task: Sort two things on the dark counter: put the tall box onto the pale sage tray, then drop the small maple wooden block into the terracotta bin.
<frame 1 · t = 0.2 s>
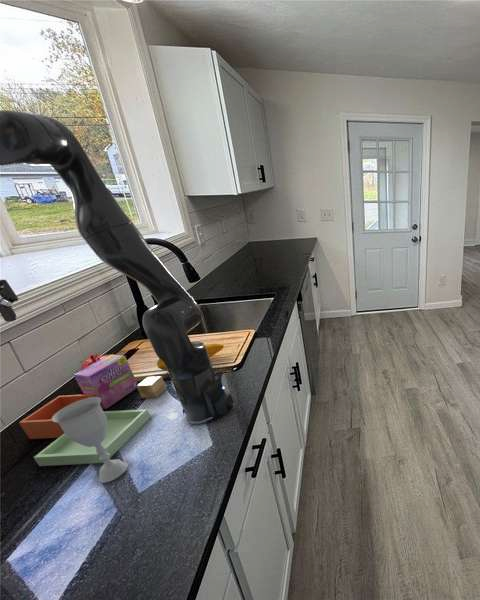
tray: (99, 439, 79), on the counter
bin: (68, 423, 86), on the counter
box: (116, 397, 95), on the counter
pomegranate: (102, 378, 106), on the counter
corn: (195, 363, 111), on the counter
chalice: (113, 472, 70), on the counter
block: (154, 392, 96), on the counter
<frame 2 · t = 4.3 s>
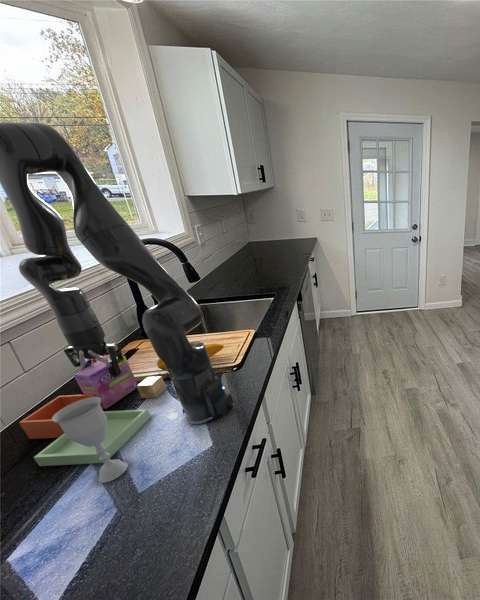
hand: (105, 376, 92), 8 cm above the counter, tool pointing down, fingers closed on box, 6 cm apart
box: (116, 397, 95), on the counter, touching bin, gripper
everything else where it was.
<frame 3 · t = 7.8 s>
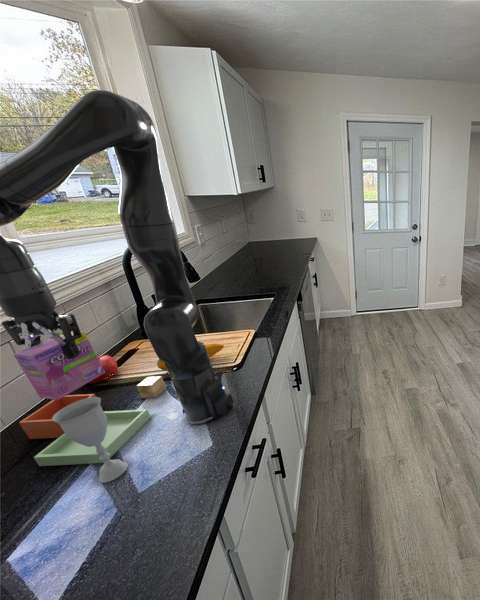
hand: (59, 357, 72), 23 cm above the counter, tool pointing down, fingers closed on box, 6 cm apart
box: (75, 385, 75), point 15 cm above the counter, touching gripper
everything else where it was.
when the fingers open (8 cm above the counter, at t = 11.8 s): box stays where it is, resting on tray.
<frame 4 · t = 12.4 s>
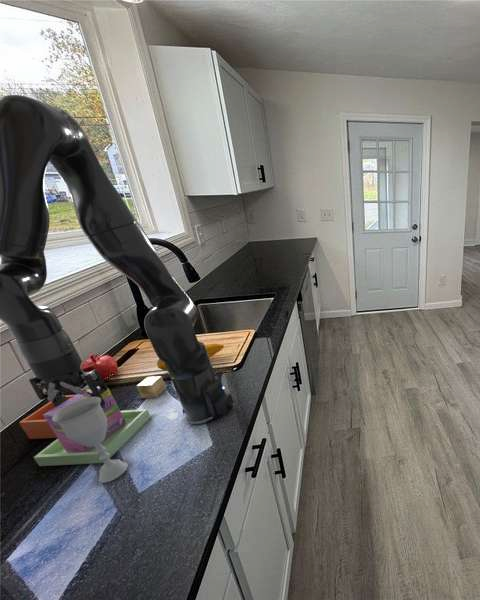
hand: (83, 409, 76), 10 cm above the counter, tool pointing down, fingers open, 8 cm apart
box: (98, 437, 79), point 1 cm above the counter, touching tray
everything else where it was.
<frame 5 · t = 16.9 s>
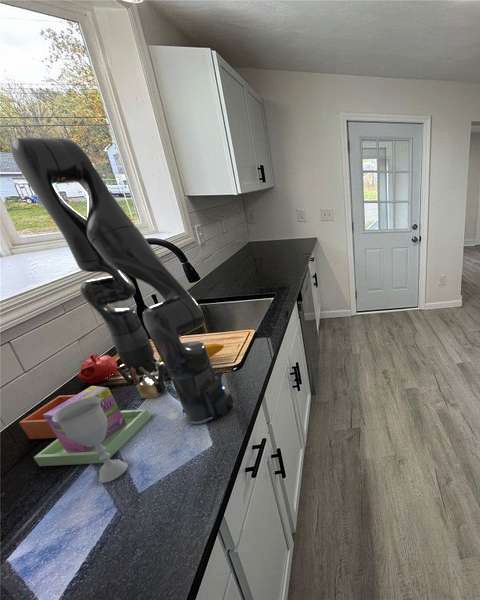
hand: (154, 392, 96), 0 cm above the counter, tool pointing down, fingers closed on block, 4 cm apart
block: (154, 392, 96), on the counter, touching gripper
everything else where it was.
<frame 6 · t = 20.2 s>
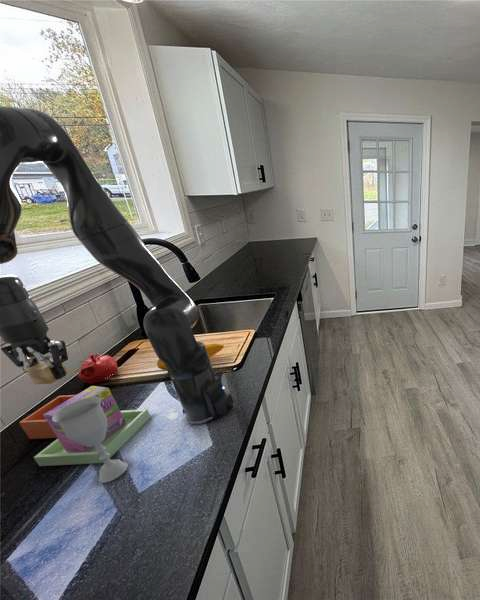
hand: (51, 377, 81), 14 cm above the counter, tool pointing down, fingers closed on block, 4 cm apart
block: (52, 378, 81), point 14 cm above the counter, touching gripper
everything else where it was.
when the fingers open (3 cm above the counter, at t = 23.9 s): block stays where it is, resting on bin.
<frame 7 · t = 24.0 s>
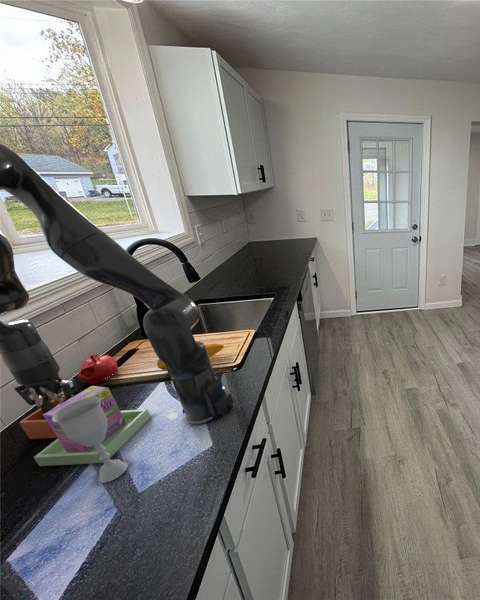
hand: (63, 414, 84), 3 cm above the counter, tool pointing down, fingers open, 5 cm apart
block: (67, 421, 85), point 1 cm above the counter, touching bin
everything else where it was.
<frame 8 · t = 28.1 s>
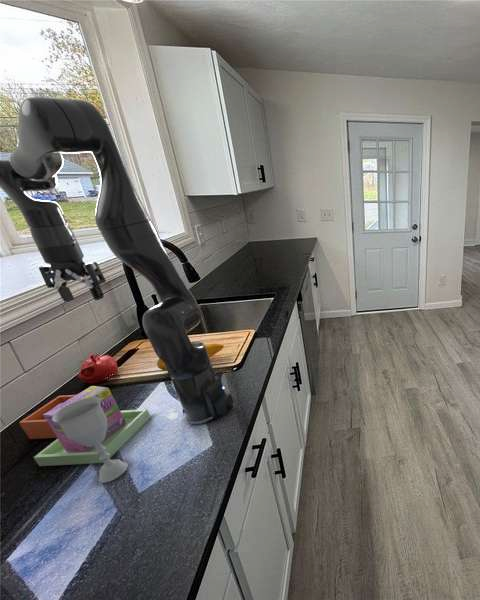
hand: (84, 299, 88), 30 cm above the counter, tool pointing down, fingers open, 8 cm apart
nothing on the counter moved.
at the end: box inside the target area in the tray (0.0 cm from its centre), point 0.6 cm above the tray's base; box tilted 0°; block inside the target area in the bin (0.1 cm from its centre), point 0.6 cm above the bin's base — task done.
